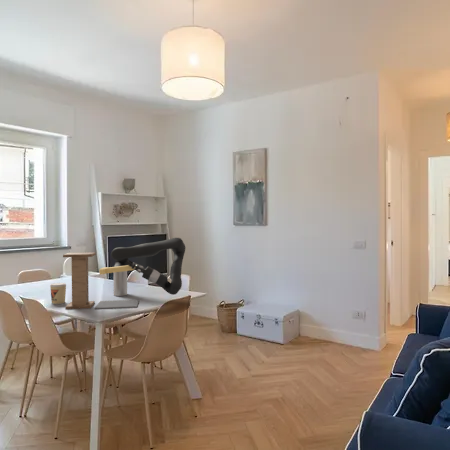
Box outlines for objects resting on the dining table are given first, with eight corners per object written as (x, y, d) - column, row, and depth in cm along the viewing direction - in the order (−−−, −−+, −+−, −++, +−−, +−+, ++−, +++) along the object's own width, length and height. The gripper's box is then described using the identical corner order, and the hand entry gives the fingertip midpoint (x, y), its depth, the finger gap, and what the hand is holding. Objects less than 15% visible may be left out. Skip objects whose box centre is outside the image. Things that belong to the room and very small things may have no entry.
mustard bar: (102, 272, 244) (101, 267, 244) (135, 268, 247) (134, 264, 247) (99, 274, 234) (99, 269, 234) (133, 270, 237) (133, 265, 237)
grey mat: (100, 302, 249) (100, 300, 249) (138, 300, 252) (138, 299, 252) (94, 309, 229) (94, 307, 229) (136, 307, 232) (136, 306, 232)
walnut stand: (69, 304, 243) (68, 252, 242) (96, 303, 245) (95, 252, 245) (63, 309, 229) (63, 254, 229) (92, 308, 231) (91, 254, 231)
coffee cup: (47, 303, 246) (47, 284, 246) (60, 300, 254) (60, 282, 254) (56, 305, 241) (55, 285, 241) (69, 302, 249) (69, 283, 249)
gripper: (154, 268, 251) (130, 255, 248) (154, 271, 237) (128, 257, 234) (148, 278, 250) (124, 265, 248) (147, 282, 236) (122, 268, 234)
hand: (126, 261), depth 241 cm, fingers open, 4 cm apart
